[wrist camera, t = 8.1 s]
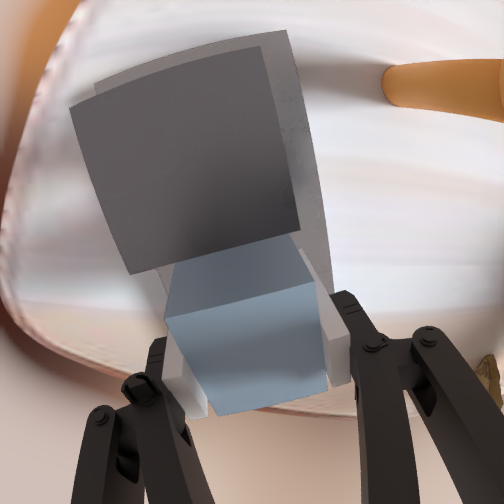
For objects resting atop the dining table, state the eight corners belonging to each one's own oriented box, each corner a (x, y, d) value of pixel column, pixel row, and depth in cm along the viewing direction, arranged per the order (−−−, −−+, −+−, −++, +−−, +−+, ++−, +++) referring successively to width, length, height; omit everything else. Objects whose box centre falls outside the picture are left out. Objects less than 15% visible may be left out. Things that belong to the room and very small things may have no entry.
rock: (491, 356, 33) (452, 408, 35) (526, 383, 28) (486, 434, 31) (484, 344, 42) (452, 388, 44) (514, 367, 37) (482, 411, 39)
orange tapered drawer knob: (401, 51, 18) (543, 39, 6) (429, 94, 19) (568, 115, 7) (366, 78, 19) (513, 75, 7) (397, 122, 20) (540, 160, 8)
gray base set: (107, 85, 17) (-77, 78, 3) (278, 38, 17) (409, -76, 3) (208, 359, 28) (214, 519, 14) (330, 328, 28) (396, 476, 14)
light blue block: (181, 234, 16) (163, 318, 10) (275, 209, 16) (314, 280, 10) (214, 321, 19) (218, 416, 12) (294, 301, 19) (327, 390, 12)
